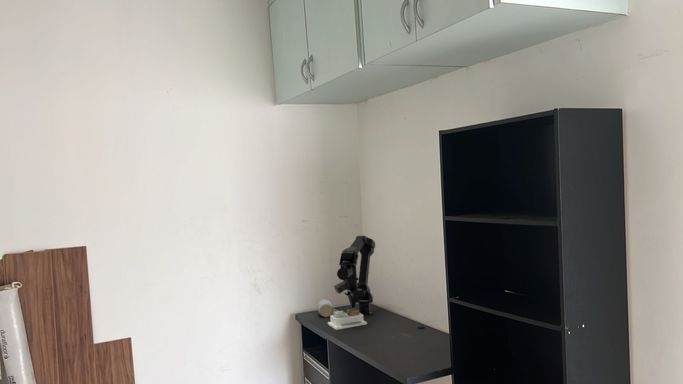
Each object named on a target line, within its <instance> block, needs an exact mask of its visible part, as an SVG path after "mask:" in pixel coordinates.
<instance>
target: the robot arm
mask: <svg viewBox="0 0 683 384" xmlns="http://www.w3.org/2000/svg"><path fill="white" fill-rule="evenodd" d="M375 248H376V242H375V240H373V239H372V238H370V237H368V236H367V235H357V236H356V237H355V240H354V241H353V242H352V243H351V245H350V246H349V247H347V248H345V249H343V250H342V252H341V254H340V259H339V266H340V268H339V269H338V270H337V272H336V276H337V278H338V279H339V280H341V281H340V282H339V283H337V284H335V285H334V286H333V287H334V290H335V293H337V294H341V293H343V294H344V295H345V296H346V297H348V301H349V304H350V307H351V309H355V308H356V304H358V305H357V306H358V307H357V308H358V310H359V313H361V314H363V317H364V316H369V315H373V312H371V307H370V304H372V303H373V301H374V296H373V294H372V293H371V288H370V286H369V283H368V282H369V274H370V263H371V256H372V255H373V254H374V253H375ZM359 253H360V265H359V274H357V273H358V272H357V264H358V260H359ZM344 291H345V292H344Z"/></svg>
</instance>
